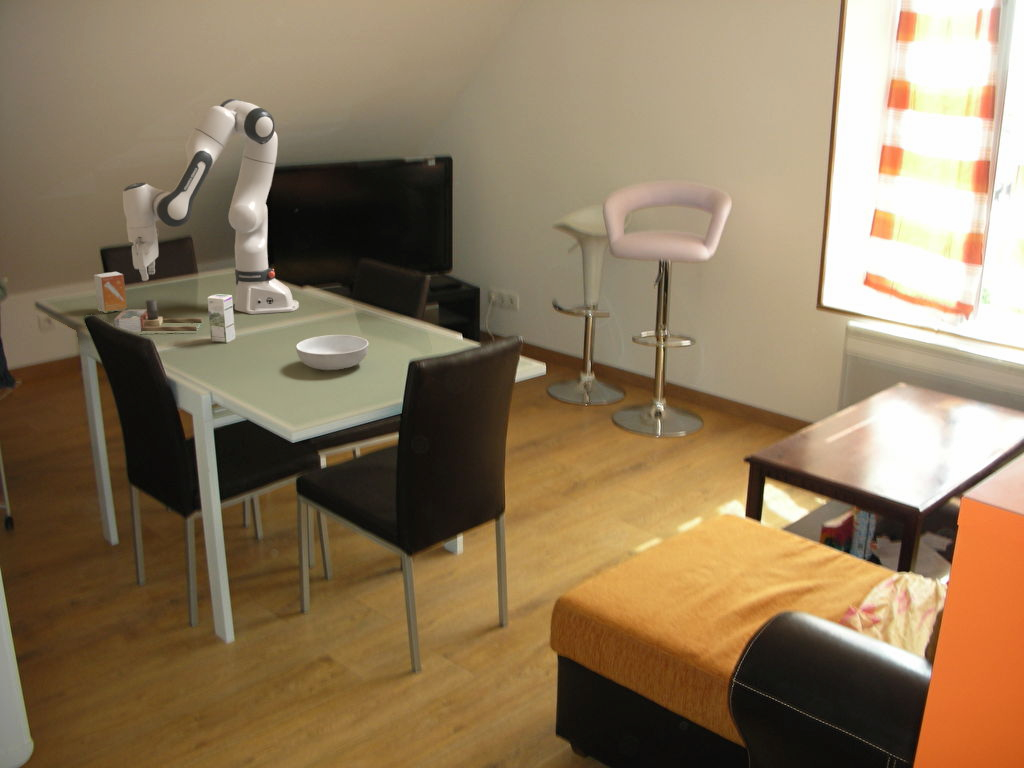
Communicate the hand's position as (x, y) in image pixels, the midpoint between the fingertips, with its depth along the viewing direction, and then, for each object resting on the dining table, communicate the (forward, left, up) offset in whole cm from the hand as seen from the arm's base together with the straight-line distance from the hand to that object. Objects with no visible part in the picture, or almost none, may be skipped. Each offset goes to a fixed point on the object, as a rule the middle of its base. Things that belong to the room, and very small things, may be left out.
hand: (148, 277), depth 340 cm
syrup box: (-25, +16, -18) cm, 34 cm away
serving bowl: (-61, +47, -18) cm, 79 cm away
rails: (-6, 0, -17) cm, 18 cm away
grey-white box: (+7, 0, -17) cm, 19 cm away
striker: (0, 0, -17) cm, 17 cm away
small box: (+19, -26, -18) cm, 37 cm away
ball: (+6, 0, -15) cm, 16 cm away
